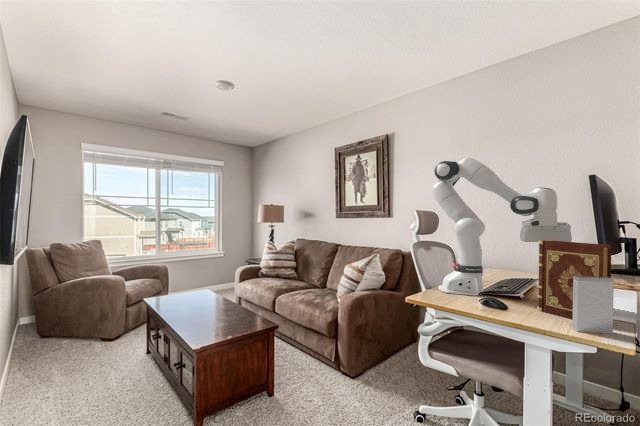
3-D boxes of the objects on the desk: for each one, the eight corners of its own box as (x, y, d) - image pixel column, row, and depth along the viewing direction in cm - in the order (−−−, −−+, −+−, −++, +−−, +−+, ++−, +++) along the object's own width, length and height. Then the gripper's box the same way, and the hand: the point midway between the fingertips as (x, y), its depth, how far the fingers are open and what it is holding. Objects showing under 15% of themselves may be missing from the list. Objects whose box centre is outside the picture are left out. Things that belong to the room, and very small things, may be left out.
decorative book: (533, 309, 130) (534, 240, 129) (543, 306, 134) (544, 239, 133) (601, 327, 110) (603, 245, 110) (610, 323, 114) (611, 244, 114)
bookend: (577, 331, 106) (577, 277, 106) (572, 328, 108) (573, 275, 108) (612, 334, 104) (613, 278, 104) (607, 331, 106) (607, 277, 106)
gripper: (565, 222, 141) (566, 251, 141) (518, 222, 144) (518, 250, 144) (575, 222, 135) (575, 253, 135) (525, 222, 138) (525, 252, 138)
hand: (545, 252), depth 139 cm, fingers closed
